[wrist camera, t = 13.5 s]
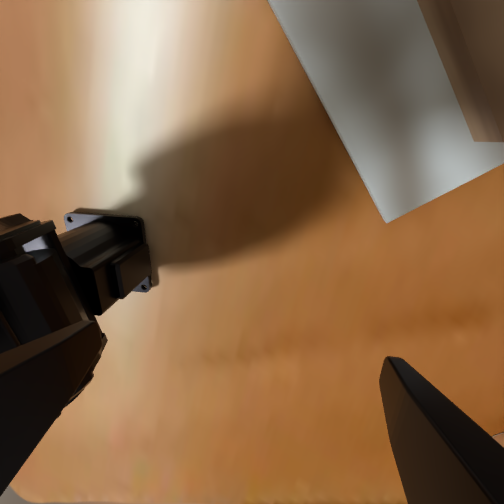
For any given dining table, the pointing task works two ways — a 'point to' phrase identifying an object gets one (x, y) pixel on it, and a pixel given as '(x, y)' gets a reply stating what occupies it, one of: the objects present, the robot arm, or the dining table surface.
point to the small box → (499, 438)
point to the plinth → (406, 89)
